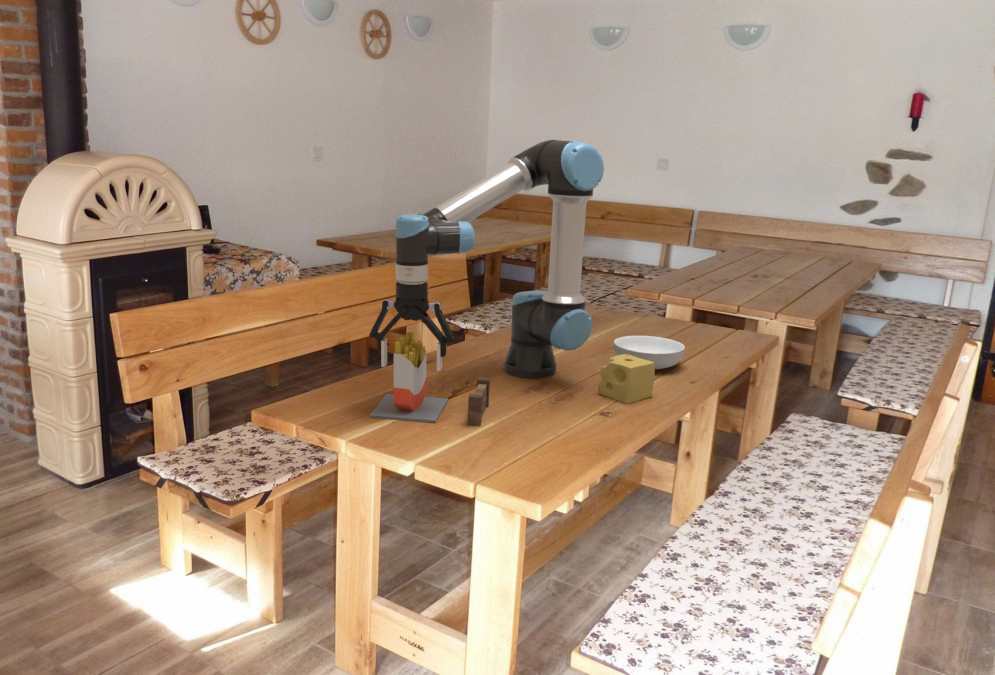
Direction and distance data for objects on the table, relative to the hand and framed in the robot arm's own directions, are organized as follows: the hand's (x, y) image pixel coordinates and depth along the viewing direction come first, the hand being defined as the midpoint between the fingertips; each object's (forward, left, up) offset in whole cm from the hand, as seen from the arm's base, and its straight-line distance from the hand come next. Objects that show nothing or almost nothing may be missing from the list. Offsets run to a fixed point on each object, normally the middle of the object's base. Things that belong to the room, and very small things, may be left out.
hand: (411, 367), depth 201 cm
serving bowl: (-53, +60, -11) cm, 81 cm away
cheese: (-23, +53, -11) cm, 59 cm away
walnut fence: (0, +17, -11) cm, 20 cm away
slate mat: (0, 0, -11) cm, 11 cm away
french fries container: (0, 0, -10) cm, 10 cm away
